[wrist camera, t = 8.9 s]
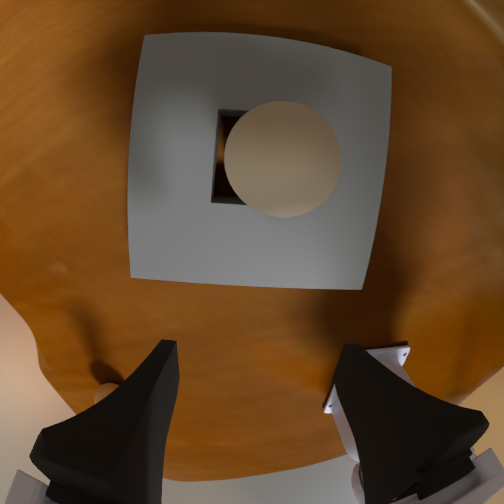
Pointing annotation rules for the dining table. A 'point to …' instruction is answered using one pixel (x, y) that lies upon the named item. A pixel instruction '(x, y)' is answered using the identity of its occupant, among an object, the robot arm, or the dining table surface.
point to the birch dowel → (282, 159)
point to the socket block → (205, 158)
